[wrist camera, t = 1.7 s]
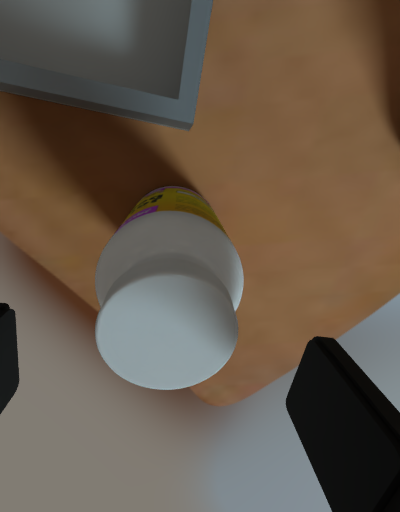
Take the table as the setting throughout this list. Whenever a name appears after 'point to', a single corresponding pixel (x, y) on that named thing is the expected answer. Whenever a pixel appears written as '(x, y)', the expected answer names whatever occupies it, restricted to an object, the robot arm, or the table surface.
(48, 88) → the box
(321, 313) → the table surface
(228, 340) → the supplement bottle
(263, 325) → the table surface
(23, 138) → the table surface
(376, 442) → the robot arm
